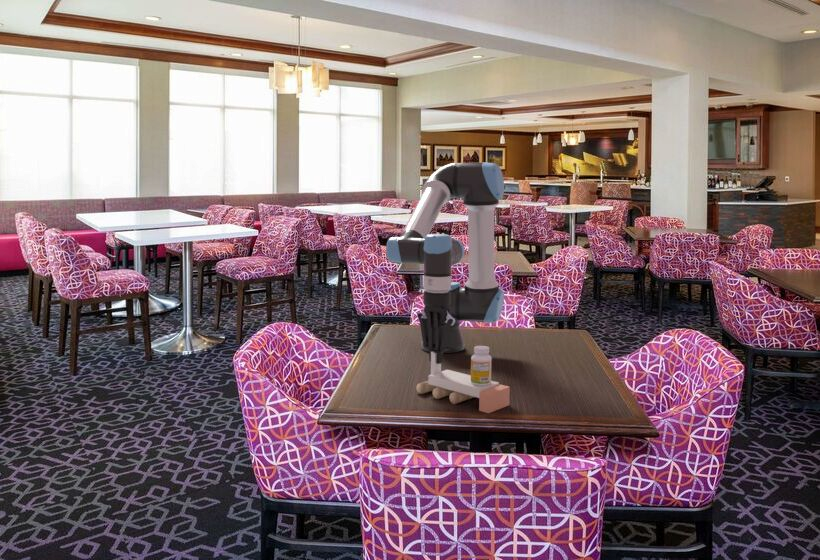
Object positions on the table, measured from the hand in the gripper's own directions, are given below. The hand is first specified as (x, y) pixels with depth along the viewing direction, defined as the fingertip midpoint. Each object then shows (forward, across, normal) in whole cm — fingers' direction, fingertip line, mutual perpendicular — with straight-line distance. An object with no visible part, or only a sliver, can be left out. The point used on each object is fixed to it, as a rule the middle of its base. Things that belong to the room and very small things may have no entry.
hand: (435, 374), depth 191 cm
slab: (+2, +10, 0) cm, 10 cm away
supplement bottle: (0, +16, 0) cm, 16 cm away
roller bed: (+5, +5, 0) cm, 7 cm away
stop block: (+5, +20, 0) cm, 21 cm away
